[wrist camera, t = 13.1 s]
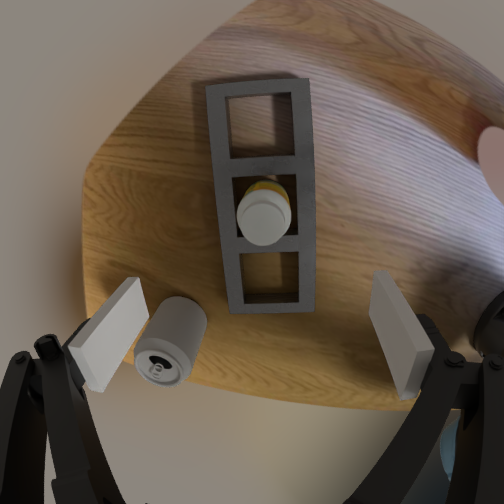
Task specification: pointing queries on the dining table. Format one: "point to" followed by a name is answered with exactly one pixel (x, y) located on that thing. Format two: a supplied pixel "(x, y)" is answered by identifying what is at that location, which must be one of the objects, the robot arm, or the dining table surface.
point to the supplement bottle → (264, 213)
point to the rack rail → (257, 166)
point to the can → (170, 342)
